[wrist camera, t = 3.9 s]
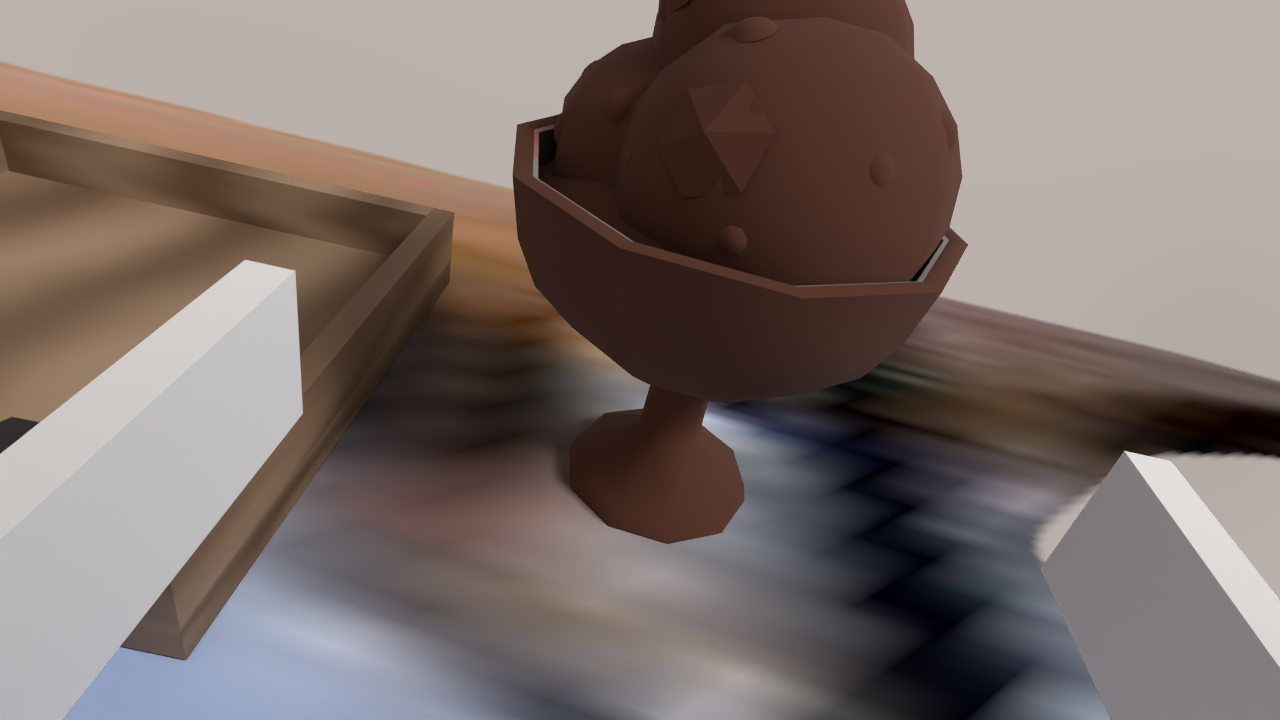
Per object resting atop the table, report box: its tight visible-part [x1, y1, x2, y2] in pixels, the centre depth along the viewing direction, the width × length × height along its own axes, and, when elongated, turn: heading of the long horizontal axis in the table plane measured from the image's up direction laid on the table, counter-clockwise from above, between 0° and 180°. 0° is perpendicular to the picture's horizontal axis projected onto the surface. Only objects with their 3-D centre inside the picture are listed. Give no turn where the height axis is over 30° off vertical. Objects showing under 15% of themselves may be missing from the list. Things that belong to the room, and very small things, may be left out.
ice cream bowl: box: [513, 0, 968, 544], centre depth 19 cm, size 11×11×15 cm
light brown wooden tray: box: [0, 110, 454, 660], centre depth 22 cm, size 18×18×3 cm
